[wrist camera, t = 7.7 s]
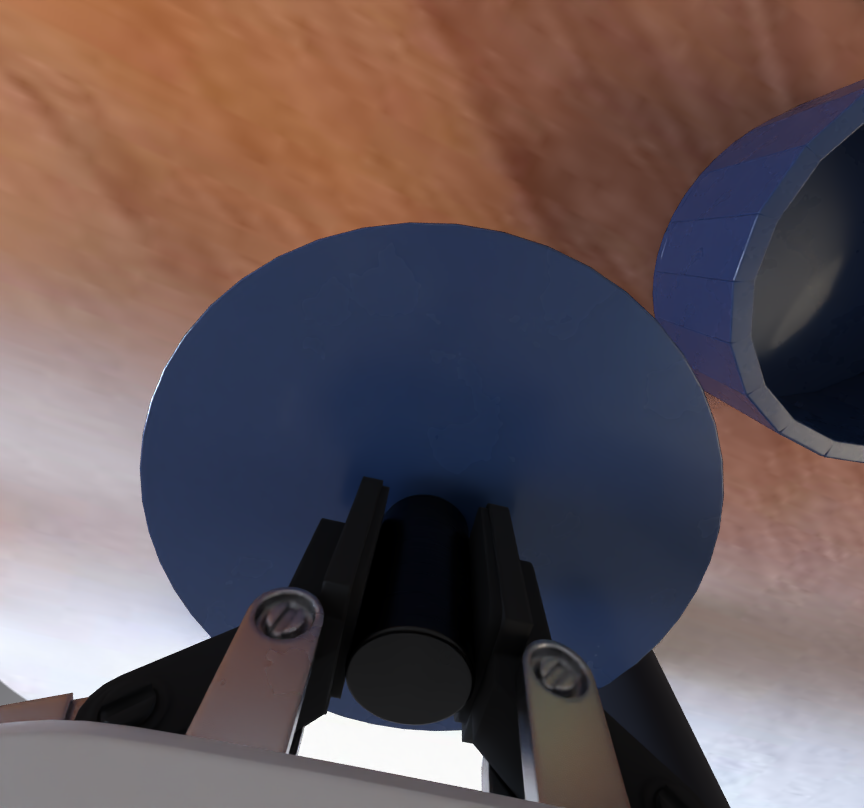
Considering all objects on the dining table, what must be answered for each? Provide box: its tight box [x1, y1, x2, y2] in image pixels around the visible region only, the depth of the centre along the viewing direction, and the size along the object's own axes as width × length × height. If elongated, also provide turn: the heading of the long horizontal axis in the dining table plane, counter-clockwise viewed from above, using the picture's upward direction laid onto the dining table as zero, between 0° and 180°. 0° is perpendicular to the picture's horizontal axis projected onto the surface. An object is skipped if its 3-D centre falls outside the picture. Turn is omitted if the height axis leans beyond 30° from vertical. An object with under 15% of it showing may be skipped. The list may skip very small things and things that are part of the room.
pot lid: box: [140, 222, 724, 731], centre depth 11 cm, size 16×16×6 cm
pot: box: [653, 79, 864, 463], centre depth 19 cm, size 15×15×7 cm
